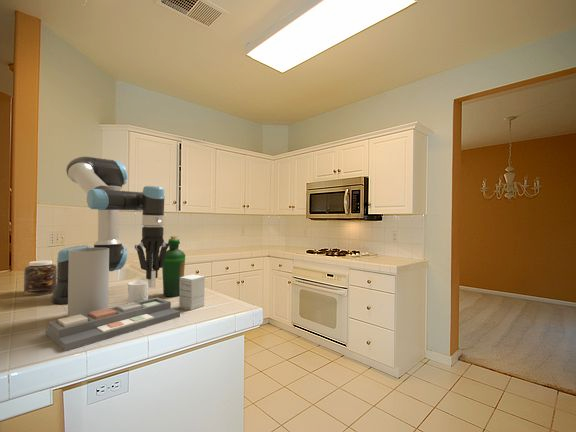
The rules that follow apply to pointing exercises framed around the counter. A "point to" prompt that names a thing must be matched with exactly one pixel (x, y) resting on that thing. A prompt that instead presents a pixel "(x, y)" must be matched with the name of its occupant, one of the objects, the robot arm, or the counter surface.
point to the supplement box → (191, 291)
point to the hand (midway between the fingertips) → (151, 287)
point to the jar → (40, 278)
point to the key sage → (151, 303)
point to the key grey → (128, 307)
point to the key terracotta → (102, 313)
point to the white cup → (138, 291)
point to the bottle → (173, 268)
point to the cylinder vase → (88, 280)
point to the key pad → (110, 324)
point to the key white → (72, 320)
